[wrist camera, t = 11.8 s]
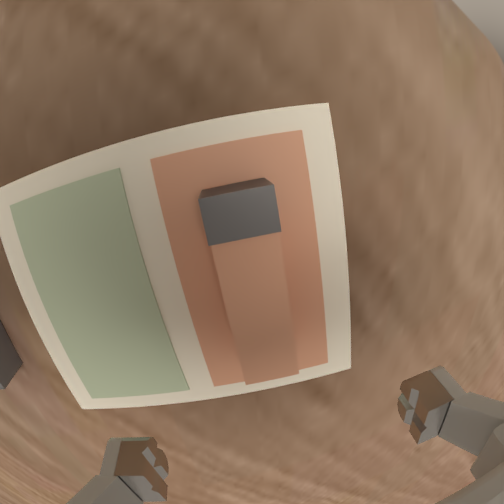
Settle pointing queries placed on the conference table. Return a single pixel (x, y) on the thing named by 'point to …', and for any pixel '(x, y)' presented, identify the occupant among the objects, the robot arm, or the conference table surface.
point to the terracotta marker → (252, 275)
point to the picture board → (176, 257)
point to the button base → (7, 359)
